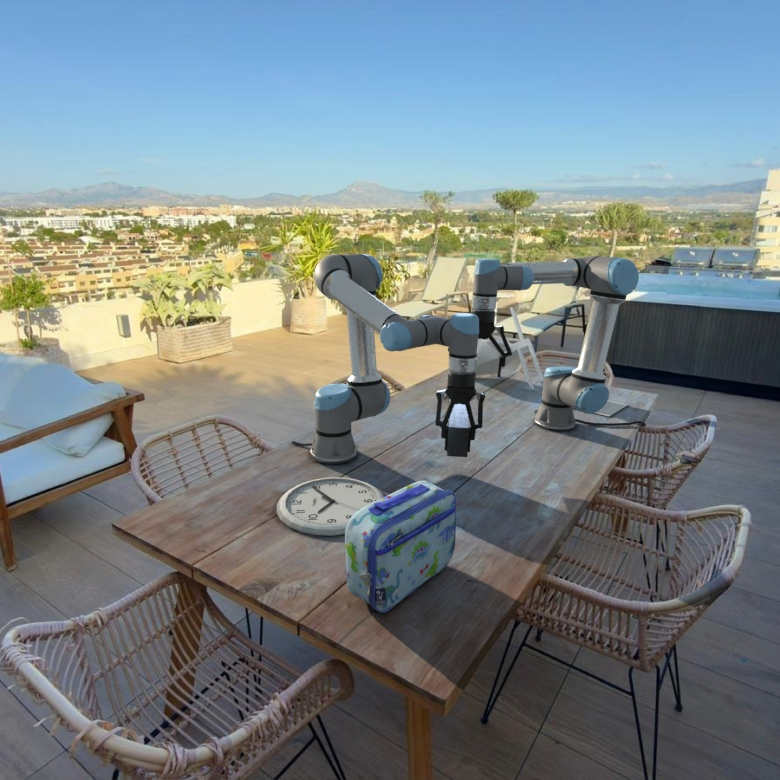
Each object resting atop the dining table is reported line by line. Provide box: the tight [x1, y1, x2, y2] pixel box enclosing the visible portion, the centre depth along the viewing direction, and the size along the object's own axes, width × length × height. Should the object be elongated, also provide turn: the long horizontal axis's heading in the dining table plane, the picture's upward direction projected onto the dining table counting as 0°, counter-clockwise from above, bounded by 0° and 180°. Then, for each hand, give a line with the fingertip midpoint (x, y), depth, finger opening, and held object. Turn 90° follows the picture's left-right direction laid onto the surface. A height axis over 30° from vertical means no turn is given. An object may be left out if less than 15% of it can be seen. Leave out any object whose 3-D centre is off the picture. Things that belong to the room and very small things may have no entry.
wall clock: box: [276, 476, 386, 537], centre depth 142 cm, size 30×2×30 cm
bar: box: [446, 398, 470, 458], centre depth 158 cm, size 29×6×9 cm, turn 173°
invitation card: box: [594, 399, 629, 418], centre depth 226 cm, size 21×1×15 cm
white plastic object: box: [474, 306, 544, 391], centre depth 259 cm, size 37×45×31 cm
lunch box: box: [344, 480, 457, 614], centre depth 109 cm, size 26×11×21 cm, turn 135°
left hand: (457, 449), depth 149 cm, fingers closed on bar, 6 cm apart
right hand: (477, 374), depth 170 cm, fingers open, 13 cm apart
